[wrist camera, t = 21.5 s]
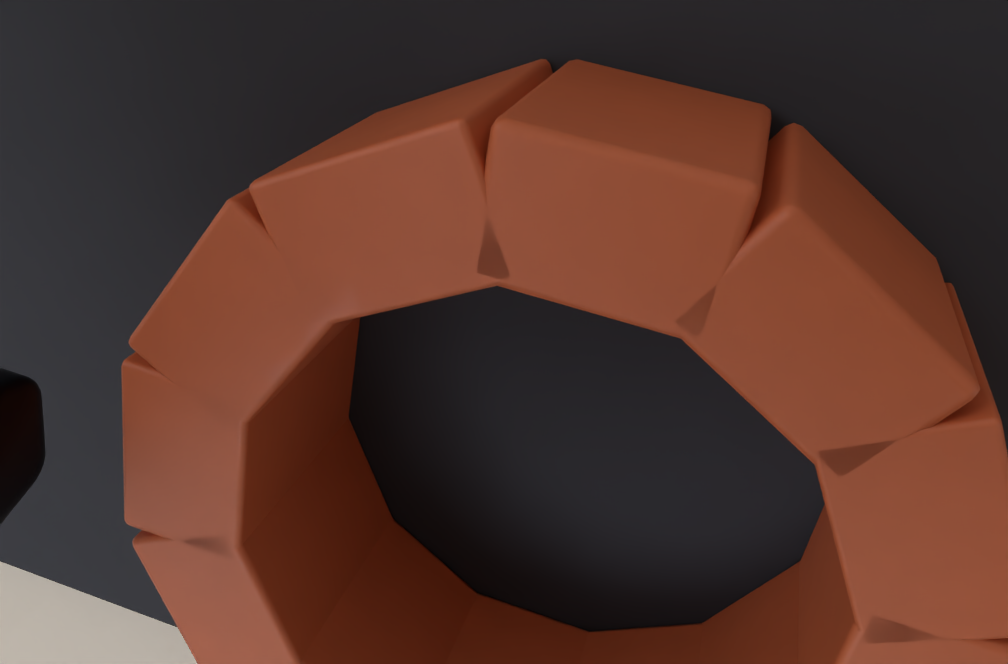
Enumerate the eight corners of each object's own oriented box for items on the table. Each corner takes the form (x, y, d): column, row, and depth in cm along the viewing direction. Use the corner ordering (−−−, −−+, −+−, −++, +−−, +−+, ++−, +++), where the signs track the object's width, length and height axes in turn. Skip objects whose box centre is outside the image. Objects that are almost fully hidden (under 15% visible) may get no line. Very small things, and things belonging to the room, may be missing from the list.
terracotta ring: (1128, 190, 7) (1253, 312, 5) (818, 789, 11) (821, 1004, 9) (276, -16, 9) (109, 19, 7) (242, 583, 12) (126, 728, 10)
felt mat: (2048, 189, 6) (2123, 207, 6) (1239, 995, 11) (1253, 1030, 11) (-187, -281, 9) (-225, -287, 9) (-71, 511, 14) (-94, 528, 14)
